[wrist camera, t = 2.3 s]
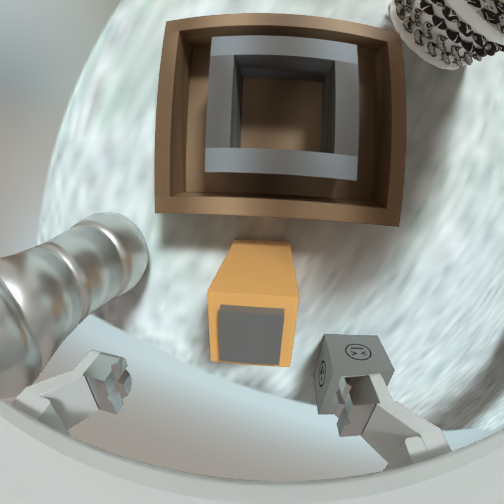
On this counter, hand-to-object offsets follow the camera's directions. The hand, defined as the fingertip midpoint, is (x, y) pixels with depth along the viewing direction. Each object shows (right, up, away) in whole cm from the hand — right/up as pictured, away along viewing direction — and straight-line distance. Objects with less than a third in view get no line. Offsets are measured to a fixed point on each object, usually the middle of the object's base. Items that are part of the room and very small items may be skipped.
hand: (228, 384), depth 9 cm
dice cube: (+9, -5, +14) cm, 18 cm away
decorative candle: (+16, +24, +5) cm, 29 cm away
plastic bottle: (-10, +5, +13) cm, 17 cm away
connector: (+2, +4, +12) cm, 13 cm away
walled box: (+3, +14, +8) cm, 17 cm away
